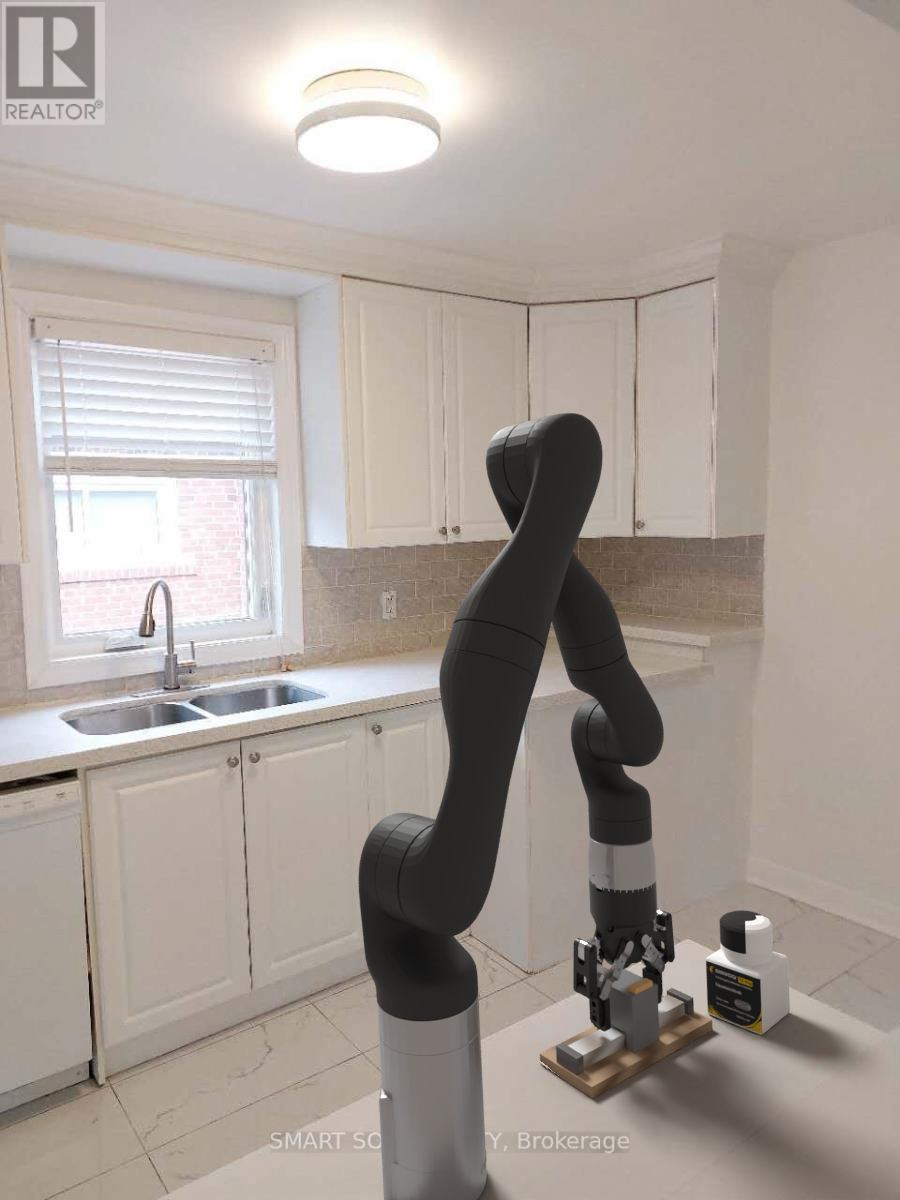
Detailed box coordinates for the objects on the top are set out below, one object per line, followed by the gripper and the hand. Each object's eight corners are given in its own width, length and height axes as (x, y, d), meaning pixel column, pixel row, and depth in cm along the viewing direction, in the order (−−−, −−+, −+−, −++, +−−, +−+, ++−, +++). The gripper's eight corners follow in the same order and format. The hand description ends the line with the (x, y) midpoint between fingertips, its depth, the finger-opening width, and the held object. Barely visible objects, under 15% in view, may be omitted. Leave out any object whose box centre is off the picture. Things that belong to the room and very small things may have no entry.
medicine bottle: (706, 1014, 103) (703, 917, 103) (736, 993, 108) (733, 900, 107) (761, 1037, 98) (758, 934, 97) (791, 1013, 103) (788, 915, 102)
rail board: (592, 1098, 88) (590, 1070, 88) (540, 1064, 95) (539, 1037, 94) (712, 1029, 100) (711, 1004, 100) (659, 1003, 106) (658, 979, 106)
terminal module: (634, 1053, 94) (631, 991, 93) (597, 1032, 98) (594, 973, 98) (659, 1039, 96) (657, 979, 96) (622, 1019, 101) (620, 962, 100)
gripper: (639, 852, 104) (644, 982, 104) (553, 881, 95) (559, 1023, 96) (689, 868, 98) (694, 1006, 98) (602, 901, 89) (608, 1052, 90)
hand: (627, 1014), depth 97 cm, fingers open, 8 cm apart
